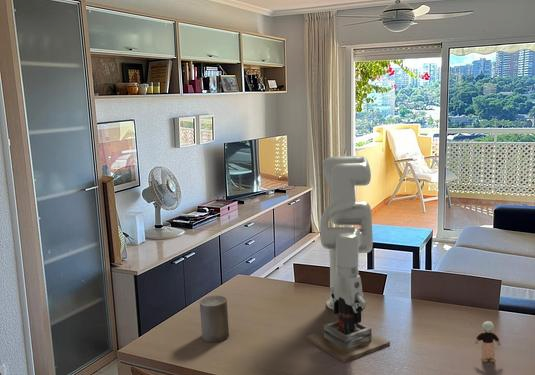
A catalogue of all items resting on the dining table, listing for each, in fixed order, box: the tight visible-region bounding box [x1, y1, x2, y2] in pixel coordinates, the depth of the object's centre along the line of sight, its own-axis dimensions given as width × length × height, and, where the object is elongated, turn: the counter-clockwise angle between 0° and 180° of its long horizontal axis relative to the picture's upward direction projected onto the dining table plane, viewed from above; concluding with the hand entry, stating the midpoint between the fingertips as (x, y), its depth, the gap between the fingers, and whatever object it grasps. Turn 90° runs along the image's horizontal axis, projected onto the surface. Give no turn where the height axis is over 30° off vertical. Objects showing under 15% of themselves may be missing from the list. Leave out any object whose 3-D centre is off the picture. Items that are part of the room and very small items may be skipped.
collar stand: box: [306, 319, 391, 363], centre depth 179 cm, size 20×20×6 cm
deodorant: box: [338, 297, 356, 341], centre depth 178 cm, size 6×6×15 cm
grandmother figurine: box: [474, 320, 502, 363], centre depth 163 cm, size 8×4×13 cm, turn 92°
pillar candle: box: [199, 294, 230, 343], centre depth 185 cm, size 10×10×15 cm
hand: (347, 317), depth 178 cm, fingers open, 9 cm apart
